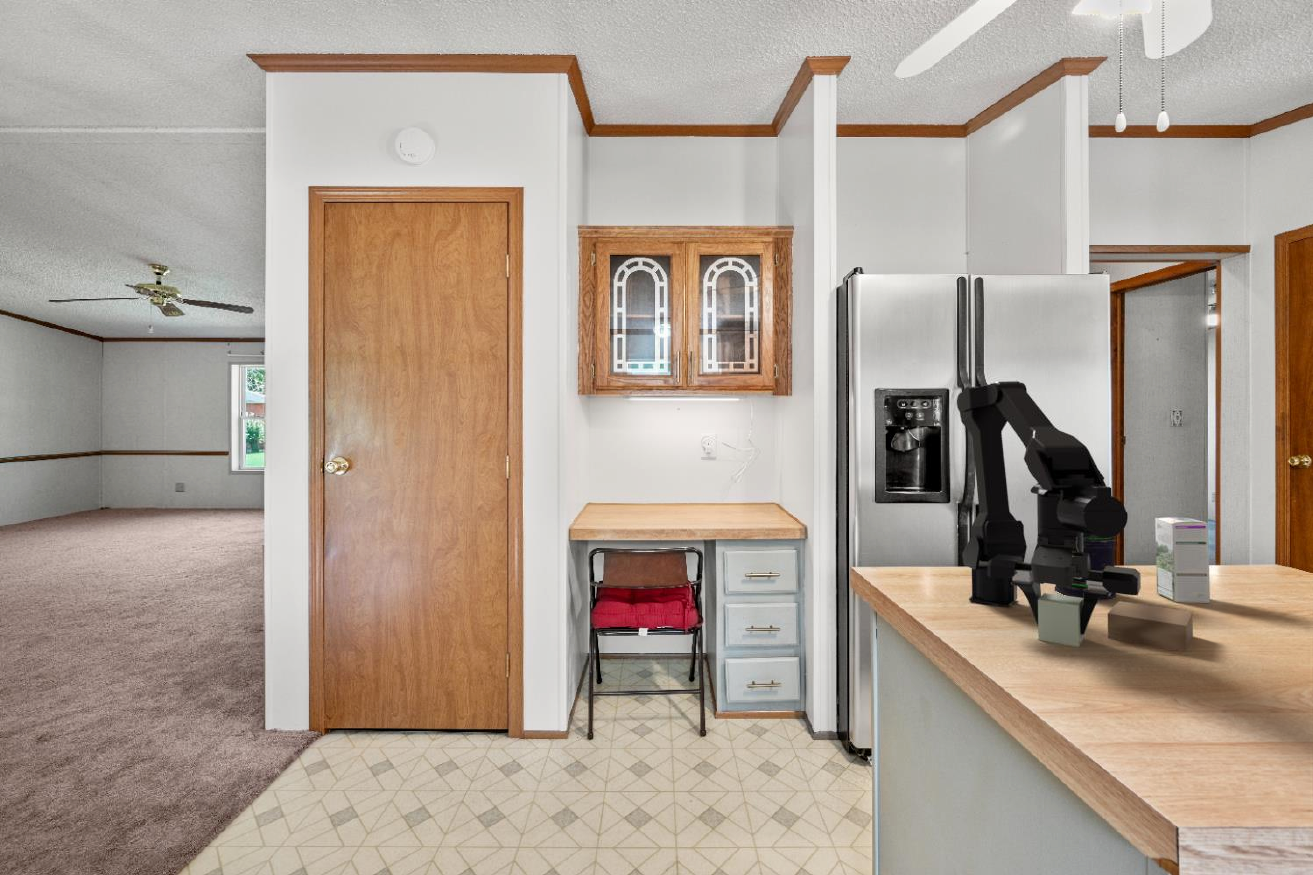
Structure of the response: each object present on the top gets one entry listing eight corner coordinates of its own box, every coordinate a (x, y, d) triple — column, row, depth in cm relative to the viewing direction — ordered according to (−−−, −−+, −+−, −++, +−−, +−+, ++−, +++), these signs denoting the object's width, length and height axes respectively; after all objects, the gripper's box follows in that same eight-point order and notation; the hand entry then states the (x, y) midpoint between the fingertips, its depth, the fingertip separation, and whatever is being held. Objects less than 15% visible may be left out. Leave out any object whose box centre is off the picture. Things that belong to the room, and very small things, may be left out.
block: (1108, 639, 93) (1107, 613, 93) (1118, 625, 100) (1118, 601, 100) (1186, 654, 87) (1186, 625, 87) (1192, 638, 93) (1192, 611, 93)
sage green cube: (1038, 639, 93) (1038, 599, 93) (1045, 631, 97) (1044, 592, 97) (1078, 646, 90) (1078, 605, 90) (1083, 637, 93) (1083, 598, 93)
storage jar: (1130, 600, 113) (1129, 518, 113) (1075, 601, 113) (1074, 518, 113) (1092, 586, 123) (1091, 510, 123) (1042, 587, 123) (1041, 511, 123)
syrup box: (1211, 603, 110) (1210, 521, 109) (1173, 602, 111) (1172, 521, 111) (1191, 595, 115) (1190, 517, 115) (1154, 594, 116) (1153, 516, 116)
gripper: (976, 527, 93) (978, 631, 93) (1133, 540, 81) (1134, 660, 81) (995, 519, 101) (997, 614, 102) (1140, 529, 89) (1141, 638, 89)
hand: (1061, 630), depth 93 cm, fingers closed on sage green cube, 5 cm apart
